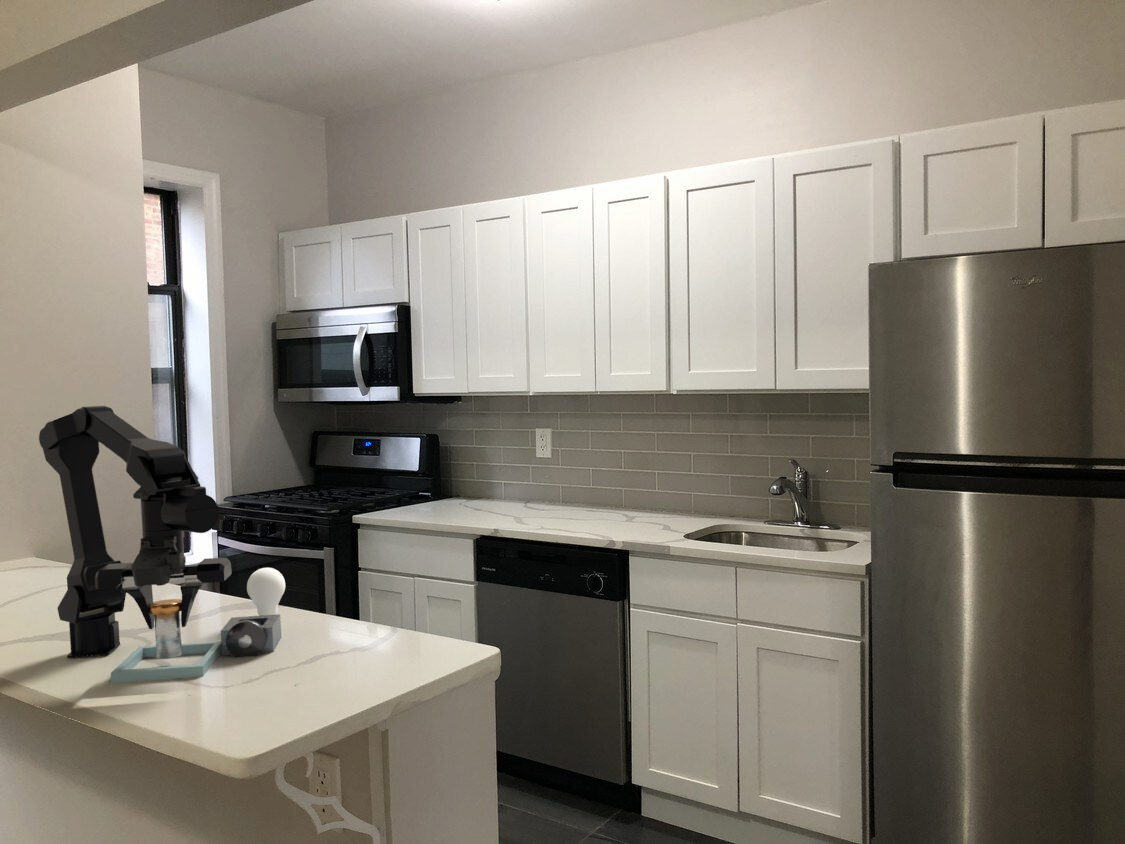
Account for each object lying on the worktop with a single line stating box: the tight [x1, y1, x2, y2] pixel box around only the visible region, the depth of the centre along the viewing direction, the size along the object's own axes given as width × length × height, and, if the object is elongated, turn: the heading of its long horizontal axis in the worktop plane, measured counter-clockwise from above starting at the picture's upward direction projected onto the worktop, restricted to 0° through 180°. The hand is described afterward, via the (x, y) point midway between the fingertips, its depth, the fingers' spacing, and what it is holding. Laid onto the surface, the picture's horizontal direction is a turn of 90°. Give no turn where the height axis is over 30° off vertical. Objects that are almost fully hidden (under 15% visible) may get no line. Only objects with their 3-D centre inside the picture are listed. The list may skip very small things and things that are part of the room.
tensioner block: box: [220, 613, 282, 658], centre depth 149 cm, size 8×10×6 cm
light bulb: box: [246, 567, 286, 616], centre depth 164 cm, size 7×7×11 cm
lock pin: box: [150, 598, 182, 660], centre depth 141 cm, size 5×5×8 cm
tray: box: [110, 640, 222, 684], centre depth 141 cm, size 13×13×2 cm
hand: (167, 627), depth 141 cm, fingers closed on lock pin, 4 cm apart
